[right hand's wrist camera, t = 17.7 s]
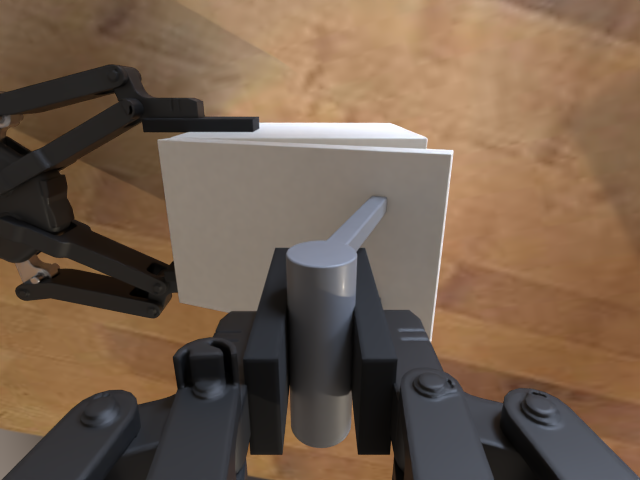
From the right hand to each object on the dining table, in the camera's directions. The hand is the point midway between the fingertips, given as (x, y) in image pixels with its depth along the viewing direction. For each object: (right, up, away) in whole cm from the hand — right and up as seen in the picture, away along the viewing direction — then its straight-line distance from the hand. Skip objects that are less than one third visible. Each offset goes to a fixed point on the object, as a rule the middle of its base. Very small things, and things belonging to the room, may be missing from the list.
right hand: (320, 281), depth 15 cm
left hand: (-4, +4, +11) cm, 13 cm away
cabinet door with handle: (-1, +2, +5) cm, 5 cm away
